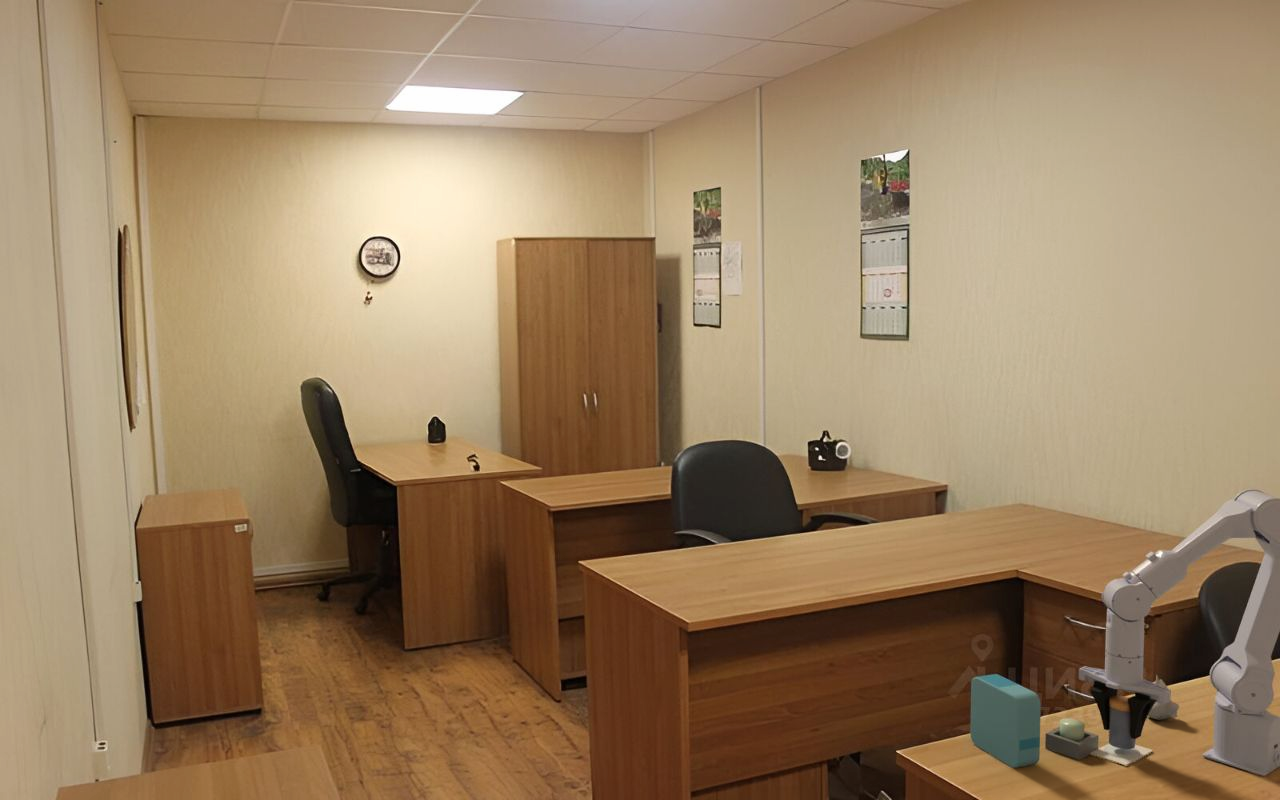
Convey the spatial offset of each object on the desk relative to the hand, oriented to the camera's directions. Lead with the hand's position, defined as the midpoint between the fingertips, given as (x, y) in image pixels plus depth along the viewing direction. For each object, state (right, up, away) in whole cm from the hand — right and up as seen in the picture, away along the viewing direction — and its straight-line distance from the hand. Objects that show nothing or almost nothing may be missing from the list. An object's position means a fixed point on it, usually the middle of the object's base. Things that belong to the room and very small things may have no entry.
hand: (1122, 732), depth 170 cm
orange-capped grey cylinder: (0, -2, 0) cm, 2 cm away
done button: (-8, -2, +2) cm, 8 cm away
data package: (-20, -4, 0) cm, 20 cm away
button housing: (-8, -4, +2) cm, 9 cm away
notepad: (0, -4, 0) cm, 3 cm away
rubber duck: (+14, -3, +14) cm, 20 cm away
